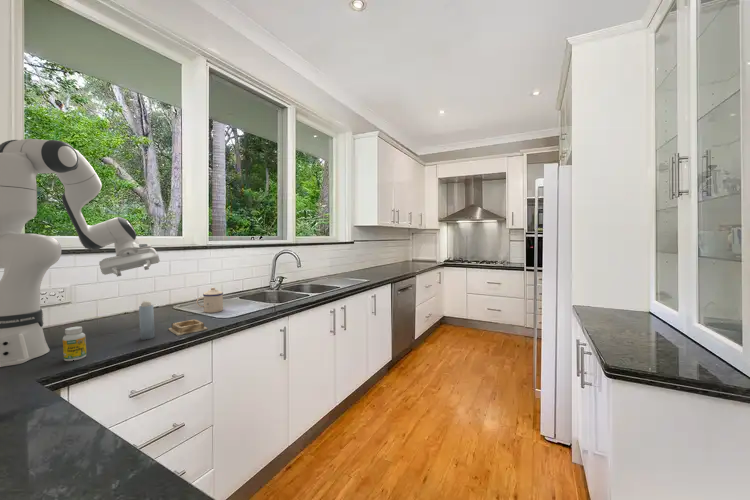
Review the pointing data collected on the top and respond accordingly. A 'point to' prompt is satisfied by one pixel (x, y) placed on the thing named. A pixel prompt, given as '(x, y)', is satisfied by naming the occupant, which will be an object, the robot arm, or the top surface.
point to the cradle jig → (187, 327)
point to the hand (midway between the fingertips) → (132, 271)
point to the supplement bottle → (74, 344)
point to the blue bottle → (146, 320)
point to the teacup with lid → (212, 301)
